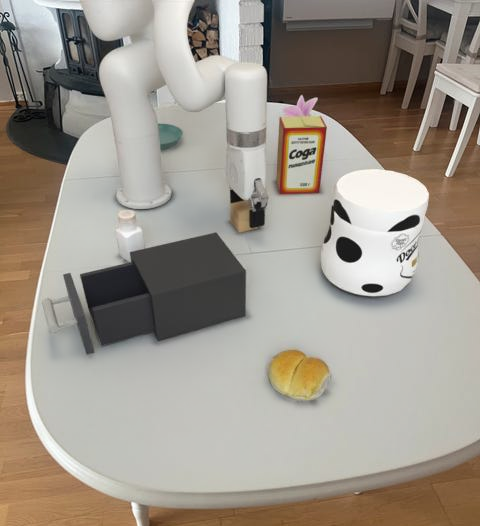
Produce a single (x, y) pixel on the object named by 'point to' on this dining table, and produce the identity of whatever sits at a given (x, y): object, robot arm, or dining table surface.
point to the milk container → (374, 232)
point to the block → (240, 215)
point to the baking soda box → (300, 154)
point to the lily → (300, 108)
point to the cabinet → (192, 284)
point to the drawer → (107, 305)
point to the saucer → (169, 135)
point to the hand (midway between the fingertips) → (247, 215)
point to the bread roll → (298, 375)
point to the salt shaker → (129, 234)
